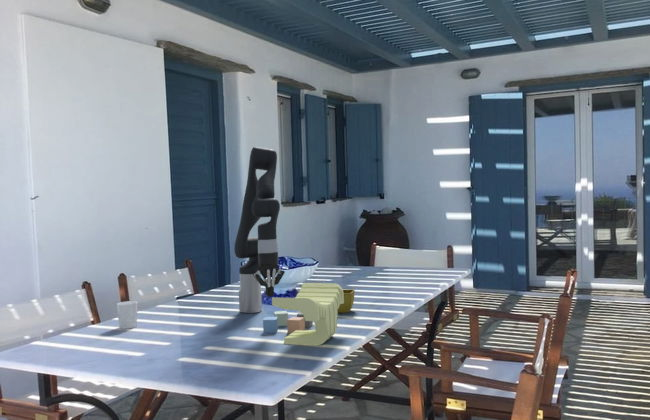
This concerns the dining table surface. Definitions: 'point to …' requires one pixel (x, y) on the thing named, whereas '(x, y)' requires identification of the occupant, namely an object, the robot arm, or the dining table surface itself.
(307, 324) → the charcoal block
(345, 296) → the flower pot
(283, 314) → the sage block
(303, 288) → the slatted curved stool
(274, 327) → the blue block
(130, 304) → the white cup
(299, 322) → the terracotta block
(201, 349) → the dining table surface
